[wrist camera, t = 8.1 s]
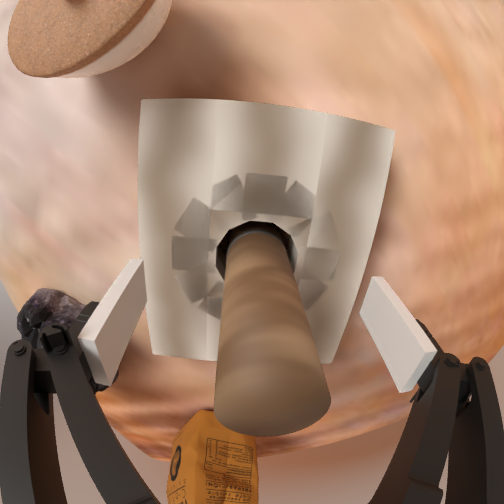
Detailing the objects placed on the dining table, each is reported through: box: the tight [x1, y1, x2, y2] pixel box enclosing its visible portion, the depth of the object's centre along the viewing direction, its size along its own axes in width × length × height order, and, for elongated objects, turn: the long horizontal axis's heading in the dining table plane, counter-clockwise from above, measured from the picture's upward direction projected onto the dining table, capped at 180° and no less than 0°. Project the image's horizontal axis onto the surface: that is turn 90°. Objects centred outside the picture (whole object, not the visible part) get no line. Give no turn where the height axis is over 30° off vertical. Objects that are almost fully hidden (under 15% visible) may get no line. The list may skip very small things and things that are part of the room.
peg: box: [214, 221, 331, 437], centre depth 15 cm, size 4×4×15 cm
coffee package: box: [166, 410, 259, 504], centre depth 24 cm, size 10×12×22 cm
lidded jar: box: [8, 0, 172, 78], centre depth 10 cm, size 11×11×9 cm
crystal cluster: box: [17, 288, 119, 394], centre depth 22 cm, size 13×14×10 cm
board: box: [138, 98, 395, 364], centre depth 20 cm, size 16×20×4 cm
